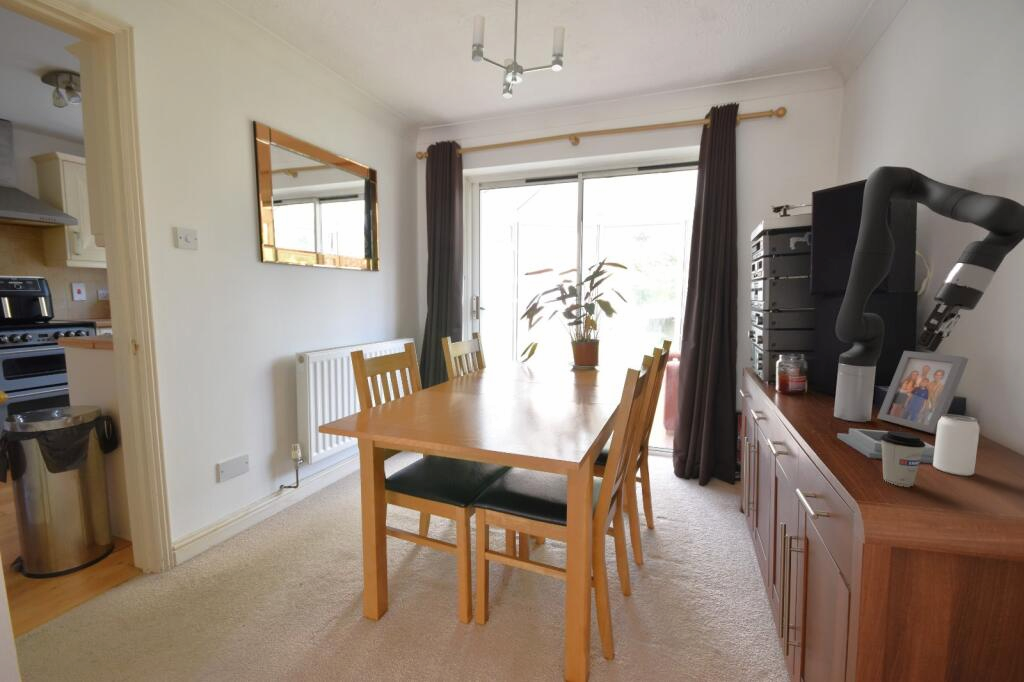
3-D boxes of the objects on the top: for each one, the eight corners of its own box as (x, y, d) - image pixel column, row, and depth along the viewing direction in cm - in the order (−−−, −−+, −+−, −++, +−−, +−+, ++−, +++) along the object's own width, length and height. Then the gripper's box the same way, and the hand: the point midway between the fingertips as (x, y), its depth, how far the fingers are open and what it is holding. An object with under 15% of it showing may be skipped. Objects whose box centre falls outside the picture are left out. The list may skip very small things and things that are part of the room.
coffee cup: (867, 475, 94) (871, 429, 93) (897, 475, 95) (902, 429, 94) (897, 489, 88) (903, 440, 87) (930, 489, 88) (936, 439, 87)
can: (982, 477, 94) (989, 422, 93) (946, 474, 96) (953, 420, 95) (958, 466, 101) (965, 414, 100) (925, 464, 102) (931, 412, 101)
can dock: (837, 437, 121) (838, 425, 120) (906, 443, 117) (907, 431, 117) (869, 457, 105) (870, 444, 105) (950, 465, 102) (952, 451, 101)
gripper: (948, 287, 113) (913, 346, 117) (938, 275, 104) (900, 339, 108) (988, 297, 107) (949, 358, 111) (980, 285, 98) (939, 351, 102)
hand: (925, 348), depth 110 cm, fingers open, 8 cm apart
